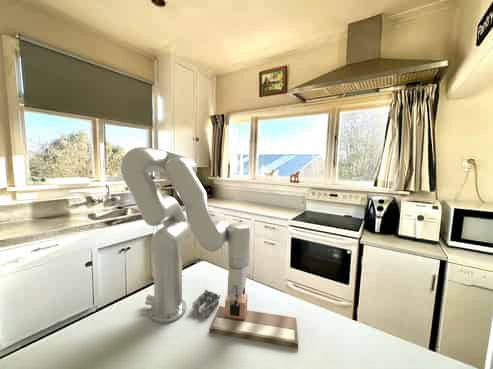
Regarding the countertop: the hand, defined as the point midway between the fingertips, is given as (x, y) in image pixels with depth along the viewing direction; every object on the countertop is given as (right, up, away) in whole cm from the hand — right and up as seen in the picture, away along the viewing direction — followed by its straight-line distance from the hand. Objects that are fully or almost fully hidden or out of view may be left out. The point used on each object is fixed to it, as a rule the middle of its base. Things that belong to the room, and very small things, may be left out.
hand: (237, 305), depth 76 cm
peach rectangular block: (-1, -3, 0) cm, 3 cm away
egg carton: (-12, -4, +5) cm, 14 cm away
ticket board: (+6, -5, -4) cm, 8 cm away
